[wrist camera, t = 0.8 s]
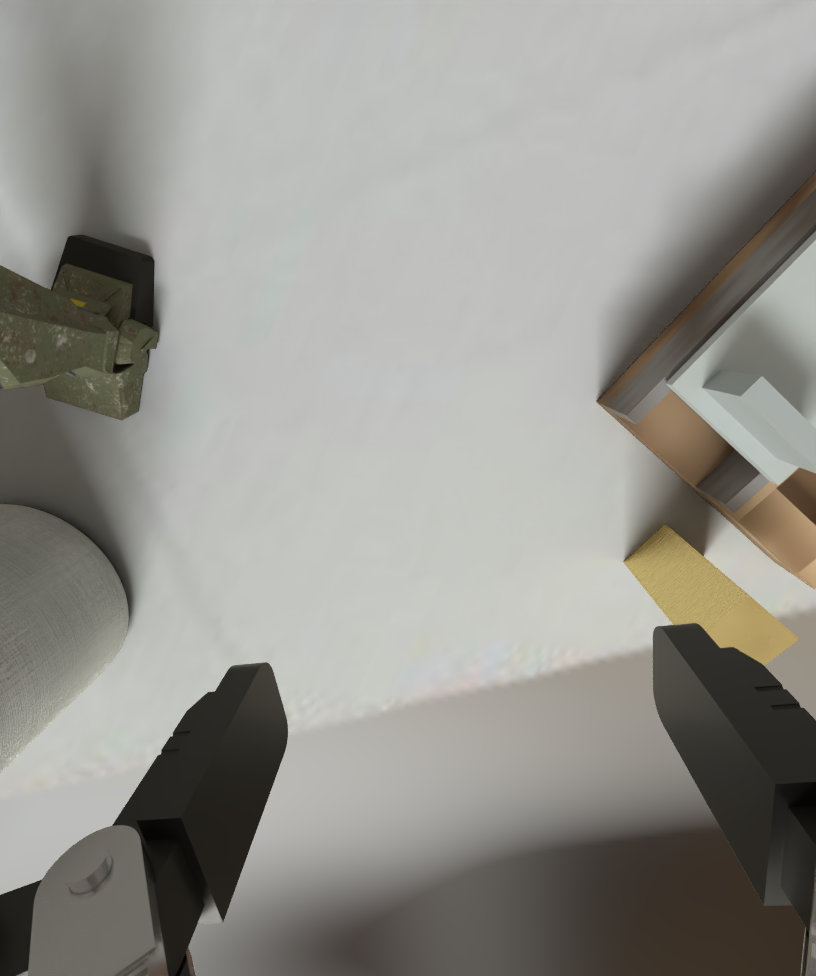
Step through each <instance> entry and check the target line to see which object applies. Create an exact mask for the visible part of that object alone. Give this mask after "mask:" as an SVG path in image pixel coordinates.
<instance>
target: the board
mask: <svg viewBox="0 0 816 976" xmlns="http://www.w3.org/2000/svg"><path fill="white" fill-rule="evenodd" d="M815 231H816V172H815V173H814V174H813V175H812V176H811V177H810V178H809V179H808V180H807V181H806V182H805V183H804V184H803V185H802V186H801V187H800V188H799V189H798V190H797V192H796V193H795V194H794V195H793V196H792V197H791V198H790V199H789V200H788V201H787V202H786V203H785V204H784V205H783V206H782V207H781V208H780V209H779V210H778V211H777V213H776V214H775V215H774V216H773V217H772V218H771V219H770V220H769V221H768V222H767V223H766V224H765V225H764V226H763V227H762V228H761V229H760V230H759V231H758V233H757V234H756V235H755V236H754V237H753V238H752V239H751V240H750V241H749V242H748V243H747V244H746V245H745V246H744V247H743V248H742V249H741V250H740V251H739V253H738V254H737V255H736V256H735V257H734V258H733V259H732V260H731V261H730V262H729V263H728V264H727V265H726V266H725V267H724V268H723V269H722V270H721V271H720V273H719V274H718V275H717V276H716V277H715V278H714V279H713V280H712V281H711V282H710V283H709V284H708V285H707V286H706V287H705V288H704V289H703V290H702V291H701V292H700V294H699V295H698V296H697V297H696V298H695V299H694V300H693V301H692V302H691V303H690V304H689V305H688V306H687V307H686V308H685V309H684V310H683V311H682V312H681V314H680V315H679V316H678V317H677V318H676V319H675V320H674V321H673V322H672V323H671V324H670V325H669V326H668V327H667V328H666V329H665V330H664V331H663V332H662V334H661V335H660V336H659V337H658V338H657V339H656V340H655V341H654V342H653V343H652V344H651V345H650V346H649V347H648V348H647V349H646V350H645V351H644V352H643V354H642V355H641V356H640V357H639V358H638V359H637V360H636V361H635V362H634V363H633V364H632V365H631V366H630V367H629V368H628V369H627V370H626V371H625V372H624V374H623V375H622V376H621V377H620V378H619V379H618V380H617V381H616V382H615V383H614V384H613V385H612V386H611V387H610V388H609V389H608V390H607V391H606V392H605V393H604V395H603V396H602V397H601V398H600V399H599V400H598V401H597V403H598V404H599V405H600V406H602V407H603V408H604V409H605V410H606V411H607V412H608V413H609V414H611V415H612V416H613V417H614V418H615V419H616V420H617V421H618V422H619V423H621V424H622V425H623V426H624V427H625V428H626V429H627V430H628V431H629V432H631V433H632V434H633V435H634V436H635V437H636V438H637V439H638V440H639V441H641V442H642V443H643V444H644V445H645V446H646V447H647V448H648V449H649V450H651V451H652V452H653V453H654V454H655V455H656V456H657V457H658V458H659V459H661V460H662V461H663V462H664V463H665V464H666V465H667V466H668V467H669V468H671V469H672V470H673V471H674V472H675V473H676V474H677V475H678V476H679V477H681V478H682V479H683V480H684V481H685V482H686V483H687V484H688V485H689V486H691V487H692V488H693V489H694V490H695V491H696V492H697V493H698V494H699V495H701V496H702V497H703V498H704V499H705V500H706V501H707V502H708V503H710V504H711V505H712V506H713V507H714V508H715V509H716V510H717V511H718V512H720V513H721V514H722V515H723V516H724V517H725V518H726V519H727V520H728V521H730V522H731V523H732V524H733V525H734V526H735V527H736V528H737V529H738V530H740V531H741V532H742V533H743V534H744V535H745V536H746V537H747V538H748V539H750V540H751V541H752V542H753V543H754V544H755V545H756V546H757V547H758V548H760V549H761V550H762V551H763V552H764V553H765V554H766V555H767V556H768V557H770V558H771V559H772V560H773V561H774V562H775V563H777V564H778V565H780V566H781V567H783V568H784V569H786V570H787V571H789V572H790V573H791V574H793V575H794V576H796V577H797V578H799V579H800V580H802V581H803V582H804V583H806V584H807V585H809V586H810V587H812V588H813V589H815V588H816V473H813V472H810V471H808V470H805V469H803V468H800V467H799V468H798V469H796V470H795V471H794V472H793V473H792V474H791V475H790V476H788V477H787V478H786V479H785V480H784V481H783V482H782V483H780V484H779V485H777V484H775V483H773V482H770V481H769V480H768V479H767V478H766V477H764V476H763V475H762V474H761V473H760V472H759V471H758V470H757V469H756V468H755V467H754V466H753V465H752V464H751V463H750V462H748V461H747V460H746V459H745V458H744V457H743V456H742V455H741V454H740V453H739V452H738V451H737V450H736V449H735V448H733V447H732V446H731V445H730V444H729V443H728V442H727V441H726V440H725V439H724V438H723V437H722V436H721V435H720V434H718V433H717V432H716V431H715V430H714V429H713V428H712V427H711V426H710V425H709V424H708V423H707V422H706V421H705V420H704V419H702V418H701V417H700V416H699V415H698V414H697V413H696V412H695V411H694V410H693V409H692V408H691V407H690V406H689V405H687V404H686V403H685V402H684V401H683V400H682V399H681V398H680V397H679V396H678V395H677V394H676V393H675V392H674V391H672V390H671V389H670V388H669V387H668V386H667V385H666V384H665V383H666V382H667V381H668V380H669V379H670V378H671V377H672V376H673V375H674V374H675V373H676V372H677V371H678V370H679V369H680V368H681V367H682V366H683V365H684V364H685V363H686V362H687V361H688V360H689V359H690V358H691V357H692V356H693V355H694V354H695V353H696V352H697V351H698V350H699V349H700V348H701V347H702V346H703V345H704V344H705V343H706V342H707V341H708V339H709V338H710V337H711V336H712V335H713V334H714V333H715V332H716V331H717V330H718V329H719V328H720V327H721V326H722V325H723V324H724V323H725V322H726V321H727V320H728V319H729V318H730V317H731V316H732V315H733V314H734V313H735V312H736V311H737V310H738V309H739V308H740V307H741V306H742V305H743V304H744V303H745V302H746V301H747V300H748V299H749V298H750V297H751V296H752V295H753V294H754V293H755V292H756V291H757V290H758V289H759V288H760V287H761V286H762V285H763V284H764V283H765V282H766V281H767V280H768V279H769V278H770V277H771V276H772V275H773V274H774V273H775V272H776V271H777V270H778V269H779V267H780V266H781V265H782V264H783V263H784V262H785V261H786V260H787V259H788V258H789V257H790V256H791V255H792V254H793V253H794V252H795V251H796V250H797V249H798V248H799V247H800V246H801V245H802V244H803V243H804V242H805V241H806V240H807V239H808V238H809V237H810V236H811V235H812V234H813V233H814V232H815Z"/></svg>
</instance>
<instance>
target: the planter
mask: <svg viewBox="0 0 816 976" xmlns="http://www.w3.org/2000/svg"><path fill="white" fill-rule="evenodd" d="M128 621H129V612H128V604H127V598H126V594H125V591H124V588H123V585H122V583H121V581H120V578H119V577H118V575H117V573H116V571H115V569H114V567H113V566H112V564H111V563H110V561H109V560H108V559H107V557H106V556H105V555H104V554H103V552H102V551H101V550H100V549H99V548H98V547H97V546H96V545H95V544H94V543H93V542H92V541H91V540H90V539H89V538H88V537H87V536H85V535H84V534H83V533H82V532H80V531H79V530H78V529H76V528H75V527H73V526H72V525H70V524H69V523H67V522H65V521H63V520H62V519H60V518H58V517H56V516H54V515H51V514H49V513H46V512H44V511H41V510H38V509H34V508H31V507H26V506H21V505H12V504H0V773H1V772H2V771H3V770H4V769H5V768H6V767H7V766H8V765H9V764H10V763H11V762H12V761H13V760H14V759H15V758H16V757H17V756H18V755H19V754H20V753H21V752H22V751H23V750H24V749H25V748H26V747H27V746H28V745H29V744H30V743H31V742H32V741H33V740H34V739H35V738H36V737H37V736H38V735H39V734H40V733H41V732H42V731H43V730H44V729H45V728H46V727H47V726H48V725H49V724H50V723H51V722H52V721H53V720H54V719H55V718H56V717H57V716H58V715H59V714H60V713H61V712H62V711H63V710H64V709H65V708H66V707H67V706H68V705H69V704H70V703H71V702H72V701H74V700H75V699H76V698H77V697H78V696H79V695H80V694H81V693H82V692H83V691H84V690H85V689H86V688H87V687H88V686H89V685H90V684H91V683H92V682H93V681H94V680H95V679H96V678H97V677H98V676H99V675H100V674H101V673H102V672H103V671H104V670H105V669H106V668H107V666H108V665H109V664H110V663H111V661H112V660H113V659H114V657H115V656H116V654H117V653H118V652H119V650H120V648H121V647H122V645H123V642H124V640H125V637H126V633H127V629H128Z"/></svg>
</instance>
